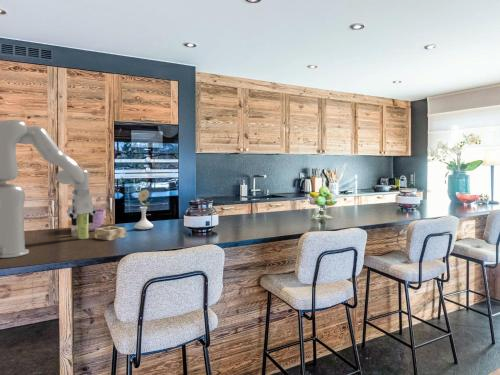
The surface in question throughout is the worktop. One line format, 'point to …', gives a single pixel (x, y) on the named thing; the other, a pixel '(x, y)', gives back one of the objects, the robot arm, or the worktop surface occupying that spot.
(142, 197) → the flower in vase
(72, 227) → the short dowel
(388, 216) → the worktop surface
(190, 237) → the worktop surface
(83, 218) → the tube
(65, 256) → the worktop surface
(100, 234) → the collar block
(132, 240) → the worktop surface
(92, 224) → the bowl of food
